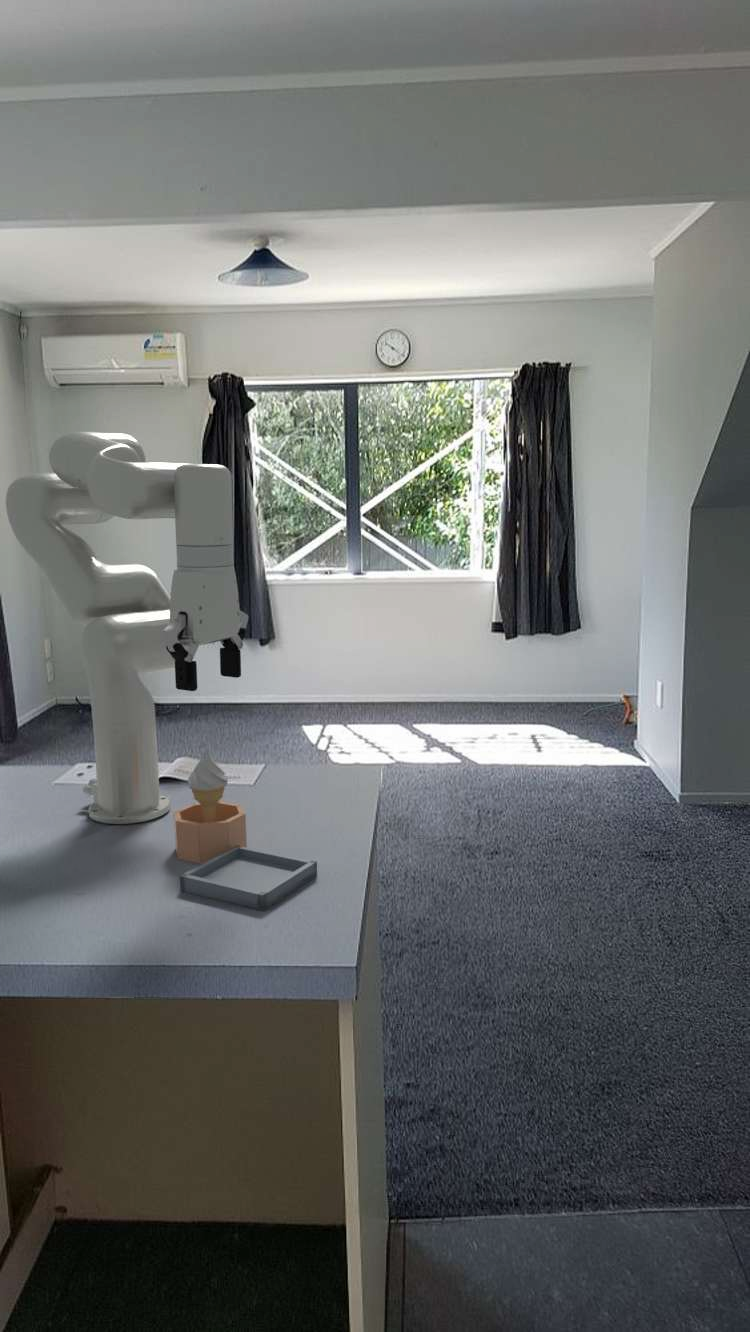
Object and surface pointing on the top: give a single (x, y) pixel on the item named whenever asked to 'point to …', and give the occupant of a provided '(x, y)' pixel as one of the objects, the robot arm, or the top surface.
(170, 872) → the top surface
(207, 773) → the ice cream cone
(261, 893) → the slate tray
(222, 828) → the holder cup
